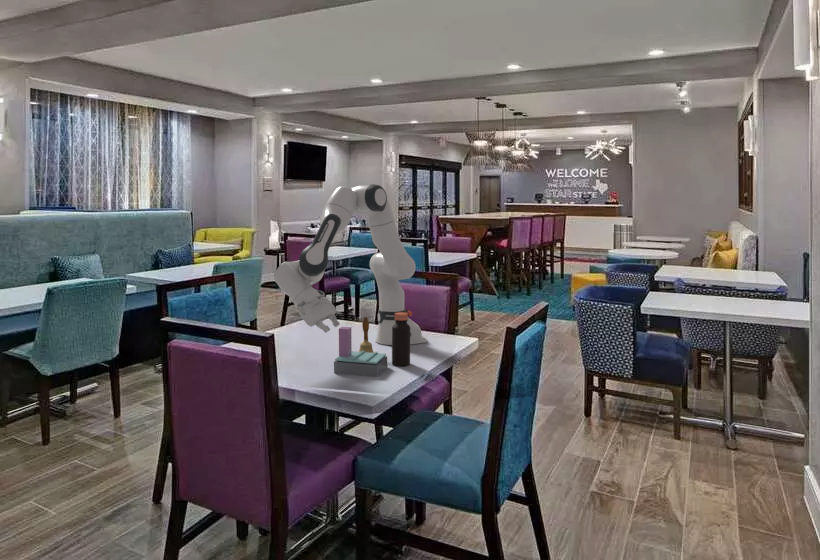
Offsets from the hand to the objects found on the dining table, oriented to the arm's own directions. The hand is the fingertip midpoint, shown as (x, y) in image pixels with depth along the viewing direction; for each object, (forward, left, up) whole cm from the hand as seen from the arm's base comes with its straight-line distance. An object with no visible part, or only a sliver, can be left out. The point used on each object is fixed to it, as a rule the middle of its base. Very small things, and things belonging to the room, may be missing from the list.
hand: (333, 328), depth 208 cm
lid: (-9, +6, -10) cm, 15 cm away
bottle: (-25, +3, -16) cm, 29 cm away
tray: (-9, +6, -15) cm, 19 cm away
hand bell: (-16, -14, -16) cm, 26 cm away
